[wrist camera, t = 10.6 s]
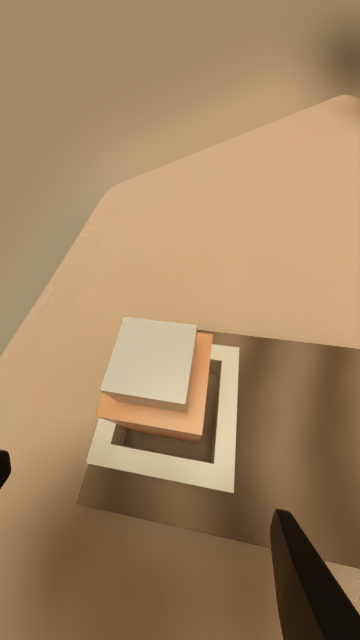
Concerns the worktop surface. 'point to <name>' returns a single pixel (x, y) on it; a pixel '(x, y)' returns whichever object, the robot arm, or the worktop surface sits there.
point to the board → (263, 453)
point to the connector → (158, 379)
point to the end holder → (177, 468)
